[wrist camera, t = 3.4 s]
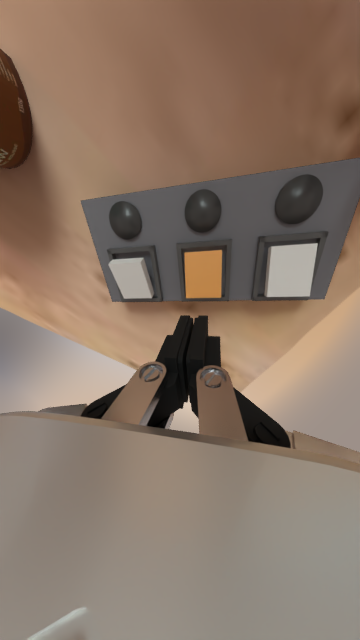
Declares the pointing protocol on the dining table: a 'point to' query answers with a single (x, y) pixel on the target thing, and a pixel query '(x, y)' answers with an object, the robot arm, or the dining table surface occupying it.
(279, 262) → the rocker
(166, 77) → the dining table surface
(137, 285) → the rocker
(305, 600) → the robot arm
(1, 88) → the food container
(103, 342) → the dining table surface
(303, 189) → the rocker switch panel
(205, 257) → the middle rocker
